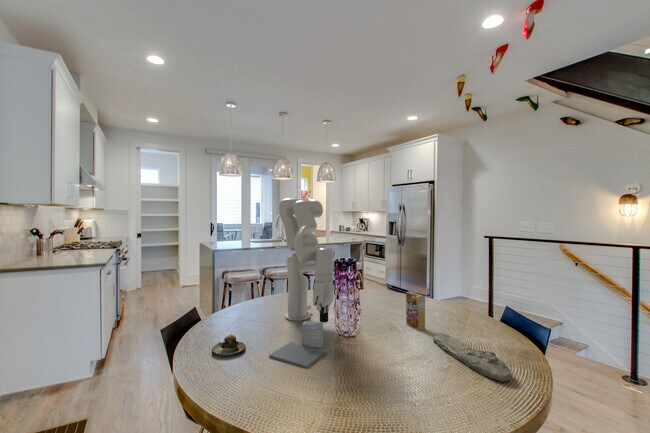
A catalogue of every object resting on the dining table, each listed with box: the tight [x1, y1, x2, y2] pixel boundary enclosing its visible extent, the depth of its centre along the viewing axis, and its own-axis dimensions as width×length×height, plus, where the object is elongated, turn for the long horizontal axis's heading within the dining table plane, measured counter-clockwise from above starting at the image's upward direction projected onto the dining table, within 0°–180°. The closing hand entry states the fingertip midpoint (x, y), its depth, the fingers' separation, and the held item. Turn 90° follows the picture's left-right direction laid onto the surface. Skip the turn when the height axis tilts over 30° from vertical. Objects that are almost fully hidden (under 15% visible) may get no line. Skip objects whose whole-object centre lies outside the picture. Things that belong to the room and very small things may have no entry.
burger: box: [211, 328, 247, 356], centre depth 116 cm, size 12×12×8 cm
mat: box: [268, 341, 327, 369], centre depth 113 cm, size 13×16×1 cm
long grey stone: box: [432, 333, 512, 382], centre depth 112 cm, size 35×5×10 cm
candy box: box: [405, 290, 426, 331], centre depth 143 cm, size 9×4×15 cm, turn 23°
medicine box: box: [301, 320, 324, 349], centre depth 122 cm, size 8×4×9 cm, turn 84°
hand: (323, 321), depth 129 cm, fingers closed
